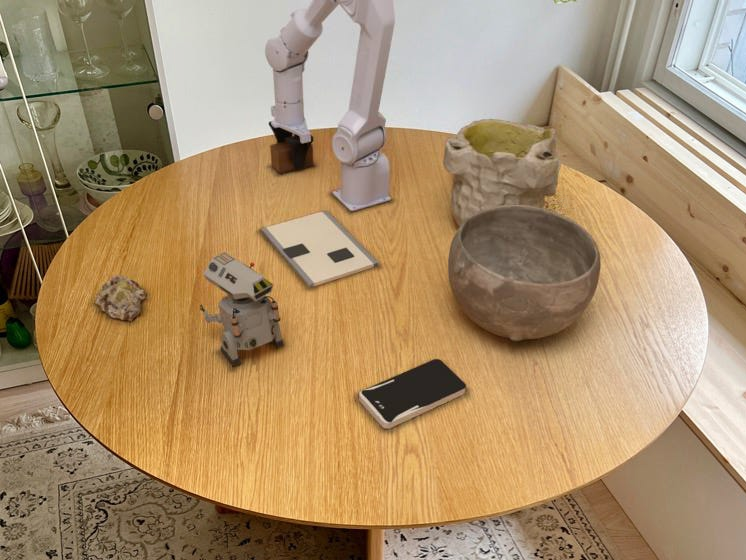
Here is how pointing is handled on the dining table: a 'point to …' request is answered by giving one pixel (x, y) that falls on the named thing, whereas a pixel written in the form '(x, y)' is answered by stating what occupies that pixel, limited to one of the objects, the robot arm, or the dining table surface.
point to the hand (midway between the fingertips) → (292, 160)
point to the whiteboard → (318, 248)
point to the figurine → (243, 307)
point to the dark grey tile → (296, 250)
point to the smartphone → (411, 393)
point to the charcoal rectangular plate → (340, 255)
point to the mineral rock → (121, 298)
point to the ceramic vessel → (500, 166)
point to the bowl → (523, 270)
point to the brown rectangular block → (287, 158)
